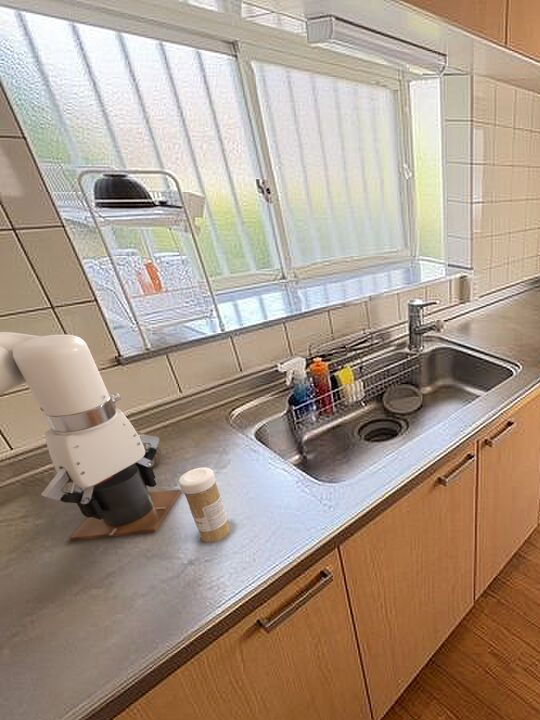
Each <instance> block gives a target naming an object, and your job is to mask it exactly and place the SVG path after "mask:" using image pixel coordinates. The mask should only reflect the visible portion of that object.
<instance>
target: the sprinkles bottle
mask: <svg viewBox="0 0 540 720" xmlns="http://www.w3.org/2000/svg"><path fill="white" fill-rule="evenodd" d="M178 485H179V489H180V490H181V491H182V493H183V494H184V496H185V499H186V501H187V504H188V508H189V509H190V513H191V515H192V518H193V520H194V523H195V526H196V528H197V531H198V533H199V535H200V538H201V541H202V542H204V543H215V542H219V541H220V540H223V539H224V538H226V537H227V536H228V535H229V534H230V532H231V530H232V528H231V524H230V522H229V519H228V514H227V511H226V508H225V504H224V501H223V499H222V496H221V493H220V491H219V488H218V485H217V479H216V475H215V472H214V470H213V469H211V468H209V467H197V468H194V469H190V470H188V471H186V472H184V473H183V474H182V475H181V476H180V477H179V479H178Z"/></svg>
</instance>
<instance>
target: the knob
mask: <svg viewBox="0 0 540 720" xmlns="http://www.w3.org/2000/svg"><path fill="white" fill-rule="evenodd" d="M149 492H150V491H149V489H148V486H146V485H145V482H144V480H143V478H142V476H141V473H140V471H139V469H138V467H137V466H136V465H133V464H132V465H130V466H129V467H127V468H125V469H123V470H121V471H120V472H118V473H116V474H114V475H112V476H111V477H109V478H107V479H105V480H103V481H101V482H100V483H98V484H96V485H94V489H93V493H92V496H91V498H93V499H96V500H97V502H98V504H99V506H100V507H101V509H102V511H103V513H104V515H105V516H104V518H103V521H104V523H105V524H107V525H110V526H120V525H125V524H128V523H131V522H134V521H136V520H138V519H140V518H142V517H143V516H145V515H146V514H147V513H148V512H149V511H150V510H151V509H152V507H153V501H152V498H151V496H150V494H149Z"/></svg>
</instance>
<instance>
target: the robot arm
mask: <svg viewBox="0 0 540 720" xmlns="http://www.w3.org/2000/svg"><path fill="white" fill-rule="evenodd" d="M25 383H26V385H27V387H28V388H29V390H30V392H31V394H32V395H33V397H34V399H35V401H36V403H37V405H38V407H39V409H40V411H41V412H42V414H43V417H44V418H45V420H46V422H47V424H48V425H49V427H50V429H48V430H46V431H45V433H44V436H45V441H46V447H47V450H48V455H49V457H50V460H51V463H52V464H53V467H54V470H55V472H56V475H55V476H54V477H53V478H52V479H51V481H50V482H49V483H48V484H47V486H46V487H45V489H44V490H43V491H42V492H41V497H43V498H46V499H48V500H53V501H58V502H62V503H67V504H68V503H69V504H76V505H77V506H78V508H79V510H80V511H81V513H82V515H83V516H84V517H86V518H90V517H93V518H96V519H99V520H101V519H103V518H104V516H105V515H104V513H103V511H102V509H101V507H100V506H99V504H98V502H97V500H96V499H93V498H91V496H92V493H93V489H94V485H96V484H98V483H100V482H101V481H103V480H105V479H107V478H109V477H111V476H112V475H114V474H116V473H118V472H120V471H121V470H123V469H125V468H127V467H129V466H130V465H132V464H134V463H136V466H137V467H138V469H139V471H140V473H141V476H142V478H143V480H144V482H145V485H146V487H150V488H154V487H155V486H157V485H158V484H157V482H156V475H155V472H154V470H153V467H152V468H151V466H152V465H153V461H152V460H153V458H154V456H155V454H156V452H157V450H156V448H157V446H158V445H159V443H160V440H161V439H160V437H159V436H156V435H152V434H145V435H138V434H137V432H136V430H137V429H136V428H135V427H134V426H133V424H132V423H131V421H130V420H129V419H128V418H127V416H126V415H125V414H124V413H123V411H122V410H121V409H119V408H117V406H116V403H117V402H118V401H120V400H122V399H121V398H122V397H121V395H120V394H119V393H117V392H114V393H109V391H108V389H107V387H106V384H105V382H104V380H103V377H102V375H101V373H100V371H99V369H98V366H97V364H96V362H95V359H94V357H93V355H92V353H91V350H90V348H89V346H88V344H87V342H86V341H85V340H84V339H83V338H81V337H80V336H77V335H74V334H62V333H61V334H48V335H36V334H35V335H34V334H27V333H20V332H13V331H12V332H11V331H0V396H1V395H3V394H5V393H7V392H8V391H10V390H12V389H14V388H16V387H18V386H20V385H24V384H25ZM135 429H136V430H135ZM142 443H146V445H145V446H146V447H145V448H144V446H143V444H142ZM71 483H72V485H71V488H70V492H64V491H63V489H64V487H65V486H66V485H67V484H71Z"/></svg>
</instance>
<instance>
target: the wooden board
mask: <svg viewBox="0 0 540 720" xmlns="http://www.w3.org/2000/svg"><path fill="white" fill-rule="evenodd" d="M182 493H183V492H182V490H181V489H172V490H161V491H160V490H159V491H151V492H150V491H149V494H150V496H151V498H152V501H153V507H152V509H151V510H150V511H149V512H148V513H147V514H146V515H145V516H143V517H142V518H140V519H138V520H136V521H134V522H131V523H128V524H125V525H120V526H110V525H107V524H105V523H104V521H103V519H101V520H99V519H96V518H93V517H90V518H88V517H86V519H85V520H84V521H83V523H81V525H80V526H79V527H78V528H77V529H76V530H75V531H74V532H73V533H72V535H71V536H70V537H69V540H70V542H75V541H83V540H92V539H101V538H109V537H118V536H128V535H136V534H137V535H138V534H146V533H155V532H156V531H157V530H158V529H159V527H160V526H161V524H162V523H163V521H164V520H165V518H166V517H167V515H168V514H169V512H170V511H171V509H172V508H173V506H174V505H175V503H176V502H177V501H178V499H179V497H180V496H181V494H182Z"/></svg>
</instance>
